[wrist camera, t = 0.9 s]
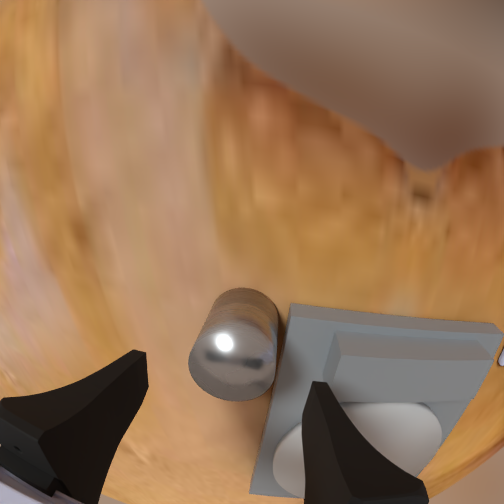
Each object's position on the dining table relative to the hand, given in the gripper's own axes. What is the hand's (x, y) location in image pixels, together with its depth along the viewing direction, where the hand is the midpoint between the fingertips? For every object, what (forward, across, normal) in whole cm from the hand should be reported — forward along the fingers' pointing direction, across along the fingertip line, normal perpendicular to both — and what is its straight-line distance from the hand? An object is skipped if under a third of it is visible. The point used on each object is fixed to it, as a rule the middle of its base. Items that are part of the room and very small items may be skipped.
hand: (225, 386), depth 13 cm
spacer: (+6, 0, 0) cm, 6 cm away
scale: (+6, -10, +8) cm, 14 cm away
